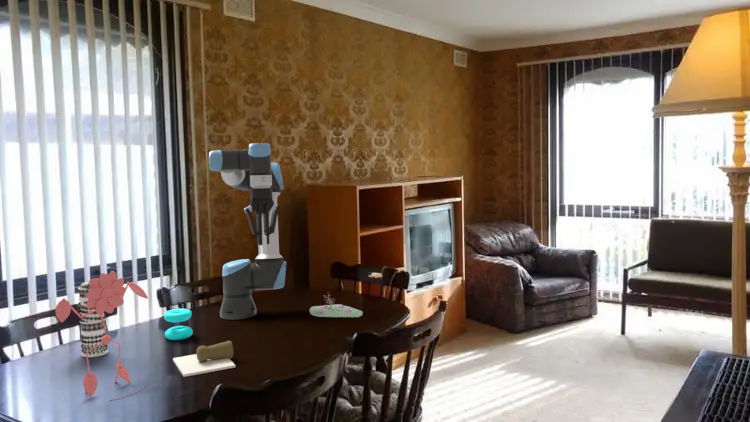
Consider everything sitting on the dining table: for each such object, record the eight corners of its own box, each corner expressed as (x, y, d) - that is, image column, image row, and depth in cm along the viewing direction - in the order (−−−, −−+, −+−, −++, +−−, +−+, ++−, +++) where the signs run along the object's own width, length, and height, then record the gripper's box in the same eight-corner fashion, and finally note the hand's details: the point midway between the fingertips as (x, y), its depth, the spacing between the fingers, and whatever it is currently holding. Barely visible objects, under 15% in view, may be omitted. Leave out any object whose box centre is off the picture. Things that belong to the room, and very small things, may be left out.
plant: (374, 309, 266) (373, 289, 266) (353, 321, 248) (352, 299, 247) (323, 305, 277) (322, 285, 276) (300, 316, 258) (299, 295, 257)
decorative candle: (115, 350, 216) (111, 280, 214) (95, 358, 207) (90, 285, 205) (95, 348, 219) (90, 279, 217) (74, 356, 210) (69, 284, 208)
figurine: (54, 400, 171) (47, 277, 168) (138, 373, 192) (133, 262, 188) (83, 414, 162) (76, 284, 159) (167, 384, 183) (163, 268, 179)
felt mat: (173, 360, 203) (172, 358, 203) (221, 352, 211) (221, 349, 211) (183, 377, 187) (183, 374, 187) (235, 367, 195) (235, 364, 195)
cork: (227, 354, 207) (194, 359, 201) (227, 337, 205) (195, 342, 200) (232, 361, 202) (199, 367, 196) (233, 344, 200) (200, 349, 195)
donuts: (158, 311, 229) (182, 306, 236) (160, 337, 230) (184, 331, 237) (172, 315, 222) (196, 310, 229) (173, 342, 223) (198, 336, 230)
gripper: (246, 188, 208) (249, 257, 210) (282, 186, 214) (285, 253, 216) (239, 187, 215) (242, 254, 217) (275, 186, 221) (278, 250, 223)
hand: (264, 253), depth 217 cm, fingers closed
